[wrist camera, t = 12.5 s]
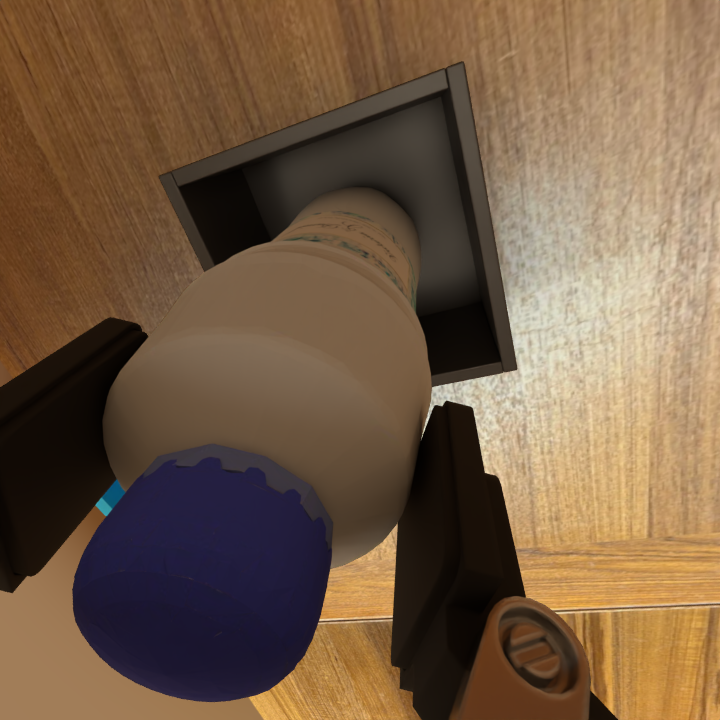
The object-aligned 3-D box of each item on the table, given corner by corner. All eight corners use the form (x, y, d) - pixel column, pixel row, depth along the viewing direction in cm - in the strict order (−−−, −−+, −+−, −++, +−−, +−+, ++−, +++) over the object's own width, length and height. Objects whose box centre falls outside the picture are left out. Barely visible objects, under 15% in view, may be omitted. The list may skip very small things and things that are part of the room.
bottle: (446, 203, 21) (569, 607, 4) (398, 322, 24) (343, 829, 7) (314, 155, 21) (-227, 350, 3) (283, 282, 24) (-71, 711, 7)
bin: (308, 348, 28) (274, 418, 22) (231, 159, 23) (157, 176, 17) (492, 304, 25) (517, 370, 19) (450, 78, 20) (464, 60, 14)
